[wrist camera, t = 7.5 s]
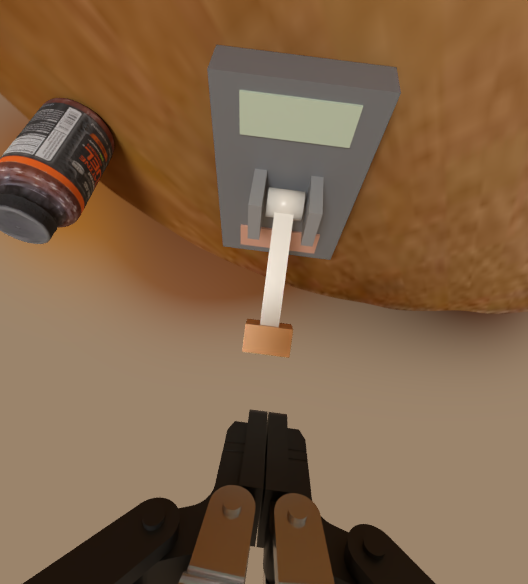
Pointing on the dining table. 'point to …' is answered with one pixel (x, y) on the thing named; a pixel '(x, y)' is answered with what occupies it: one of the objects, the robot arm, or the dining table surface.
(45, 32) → the dining table surface
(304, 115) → the switch block
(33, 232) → the supplement bottle
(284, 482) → the robot arm
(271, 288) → the breaker lever
